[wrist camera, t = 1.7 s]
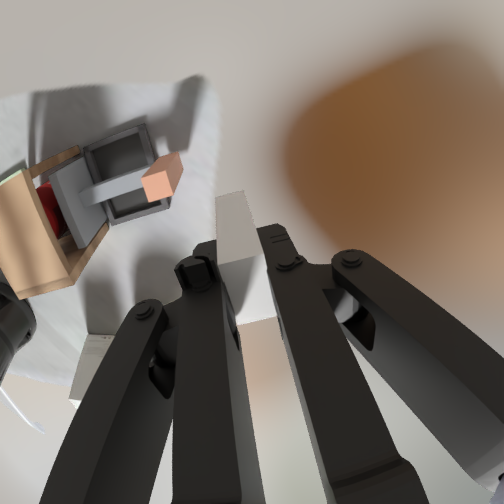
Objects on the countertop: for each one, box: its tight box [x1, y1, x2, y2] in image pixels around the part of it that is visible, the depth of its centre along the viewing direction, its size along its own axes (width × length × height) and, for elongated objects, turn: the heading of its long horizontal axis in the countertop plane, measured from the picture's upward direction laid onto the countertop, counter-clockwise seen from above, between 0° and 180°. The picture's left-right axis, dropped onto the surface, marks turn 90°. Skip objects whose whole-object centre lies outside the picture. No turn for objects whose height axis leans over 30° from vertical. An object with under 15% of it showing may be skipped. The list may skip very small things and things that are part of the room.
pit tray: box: [83, 124, 170, 226], centre depth 36 cm, size 9×12×1 cm
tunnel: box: [0, 145, 109, 300], centre depth 30 cm, size 10×13×14 cm
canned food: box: [36, 181, 69, 240], centre depth 31 cm, size 8×8×11 cm
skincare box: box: [69, 334, 115, 409], centre depth 44 cm, size 8×7×16 cm
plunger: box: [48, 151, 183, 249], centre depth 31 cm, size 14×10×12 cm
